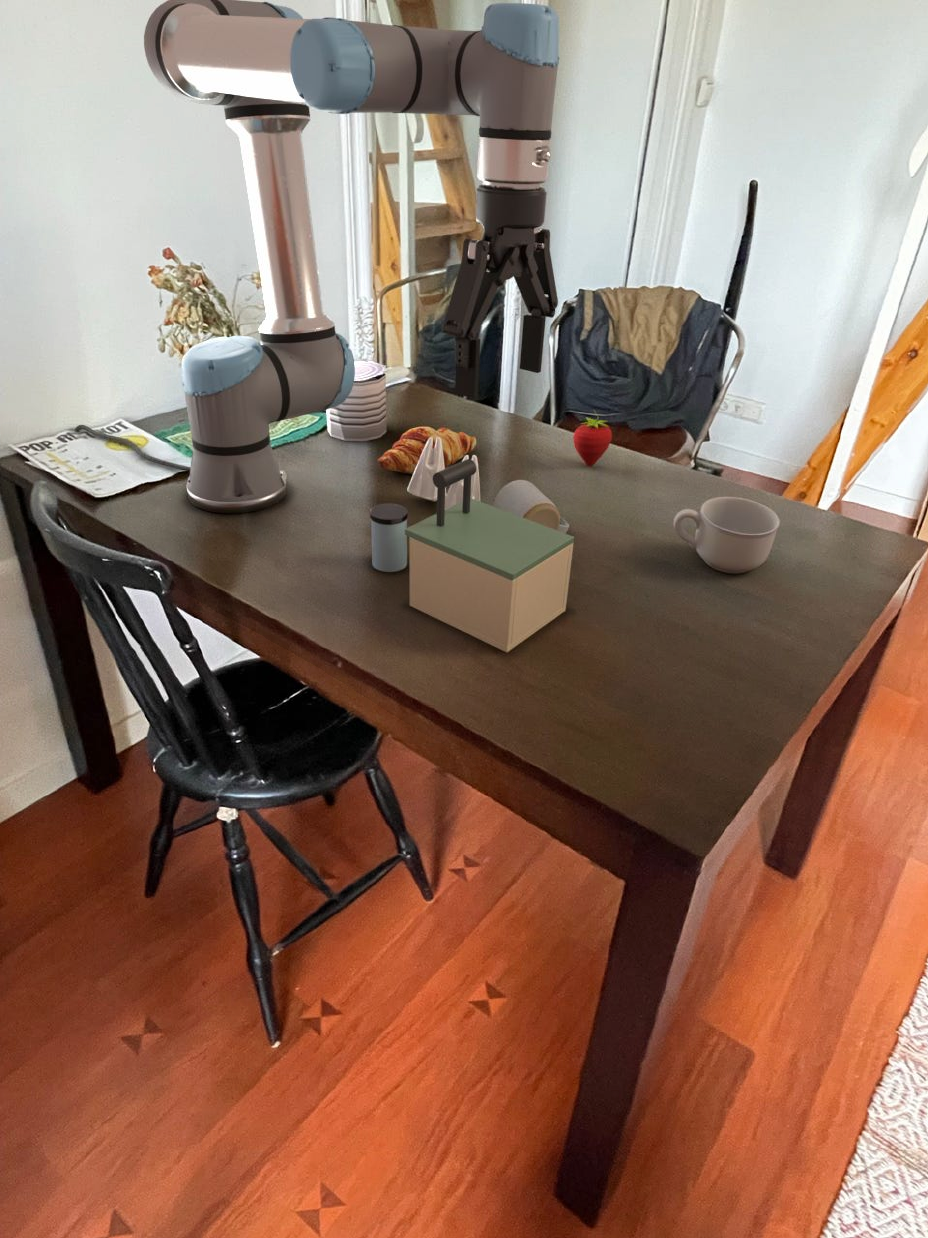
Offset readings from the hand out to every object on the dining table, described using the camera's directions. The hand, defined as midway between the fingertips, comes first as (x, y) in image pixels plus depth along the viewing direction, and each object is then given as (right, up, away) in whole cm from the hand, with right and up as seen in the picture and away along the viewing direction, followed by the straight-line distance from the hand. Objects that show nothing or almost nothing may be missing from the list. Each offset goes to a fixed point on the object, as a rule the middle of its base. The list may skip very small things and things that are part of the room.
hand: (499, 382), depth 100 cm
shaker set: (-7, -11, +31) cm, 34 cm away
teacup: (+32, -20, +19) cm, 43 cm away
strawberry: (+18, -1, +48) cm, 51 cm away
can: (-25, +7, +58) cm, 64 cm away
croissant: (-10, -1, +46) cm, 47 cm away
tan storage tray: (-1, -27, +6) cm, 28 cm away
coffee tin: (-15, -21, +15) cm, 30 cm away
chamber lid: (-1, -19, +1) cm, 19 cm away
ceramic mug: (+6, -16, +24) cm, 30 cm away
